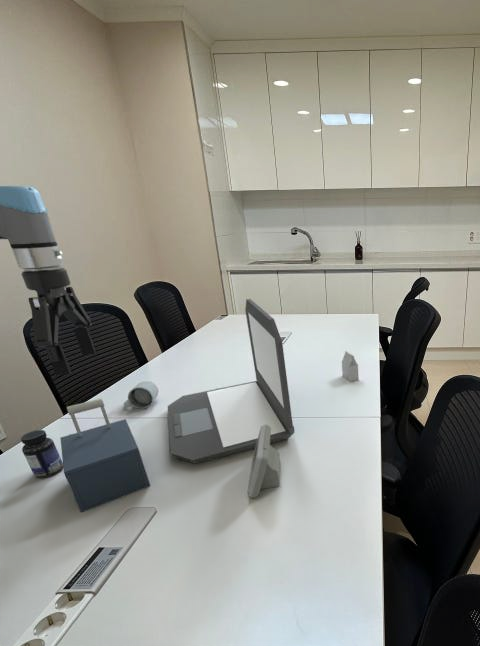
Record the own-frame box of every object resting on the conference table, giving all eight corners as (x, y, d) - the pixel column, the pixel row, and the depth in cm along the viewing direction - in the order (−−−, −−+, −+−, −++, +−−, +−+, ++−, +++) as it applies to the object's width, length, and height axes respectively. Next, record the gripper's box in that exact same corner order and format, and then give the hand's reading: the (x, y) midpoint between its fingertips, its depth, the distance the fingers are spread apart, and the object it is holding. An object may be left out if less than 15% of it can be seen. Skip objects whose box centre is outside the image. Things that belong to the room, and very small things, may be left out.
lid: (61, 440, 93) (48, 408, 90) (126, 421, 101) (116, 391, 97) (65, 475, 80) (49, 439, 77) (139, 450, 88) (128, 417, 85)
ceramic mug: (162, 397, 137) (156, 377, 134) (155, 407, 130) (149, 386, 127) (129, 401, 135) (122, 381, 132) (121, 411, 128) (114, 390, 125)
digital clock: (255, 458, 101) (249, 423, 97) (289, 457, 101) (284, 422, 97) (235, 500, 87) (226, 461, 82) (275, 499, 87) (268, 460, 82)
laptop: (168, 405, 131) (142, 307, 118) (261, 385, 144) (247, 295, 131) (173, 473, 96) (137, 345, 83) (295, 439, 109) (281, 324, 96)
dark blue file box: (75, 475, 97) (61, 442, 93) (137, 455, 104) (127, 423, 100) (80, 512, 85) (65, 475, 80) (150, 485, 92) (139, 451, 88)
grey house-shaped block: (349, 381, 146) (348, 356, 142) (342, 375, 151) (341, 351, 147) (358, 379, 147) (357, 355, 143) (351, 373, 153) (349, 349, 149)
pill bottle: (63, 461, 102) (48, 425, 98) (65, 472, 98) (49, 434, 94) (34, 471, 99) (16, 434, 94) (34, 482, 95) (16, 444, 90)
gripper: (31, 275, 71) (71, 381, 79) (87, 261, 93) (114, 345, 102) (-17, 278, 69) (29, 386, 78) (52, 263, 91) (82, 348, 100)
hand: (77, 363), depth 90 cm, fingers open, 13 cm apart
